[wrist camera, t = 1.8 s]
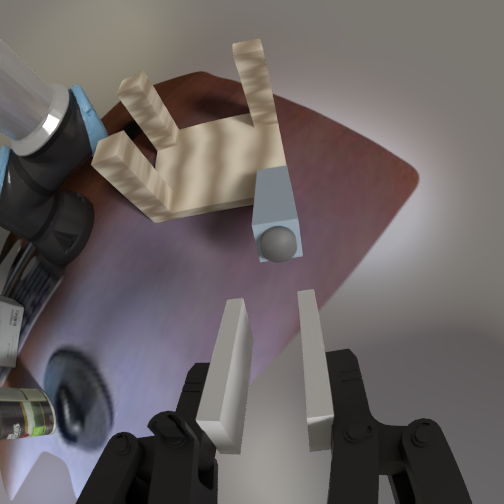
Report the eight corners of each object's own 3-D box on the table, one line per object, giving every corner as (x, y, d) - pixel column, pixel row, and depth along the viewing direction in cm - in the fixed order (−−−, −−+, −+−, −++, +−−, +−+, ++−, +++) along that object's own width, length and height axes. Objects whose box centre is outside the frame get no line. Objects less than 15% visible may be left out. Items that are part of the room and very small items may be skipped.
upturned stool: (155, 223, 43) (91, 165, 28) (164, 142, 50) (122, 80, 34) (291, 198, 40) (278, 112, 24) (276, 116, 46) (260, 38, 30)
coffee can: (63, 422, 34) (6, 428, 21) (46, 441, 33) (-5, 447, 20) (40, 378, 38) (-15, 374, 25) (25, 401, 37) (-24, 399, 24)
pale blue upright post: (262, 196, 38) (260, 268, 25) (257, 170, 36) (251, 231, 23) (291, 192, 38) (303, 262, 25) (286, 165, 36) (299, 224, 23)
